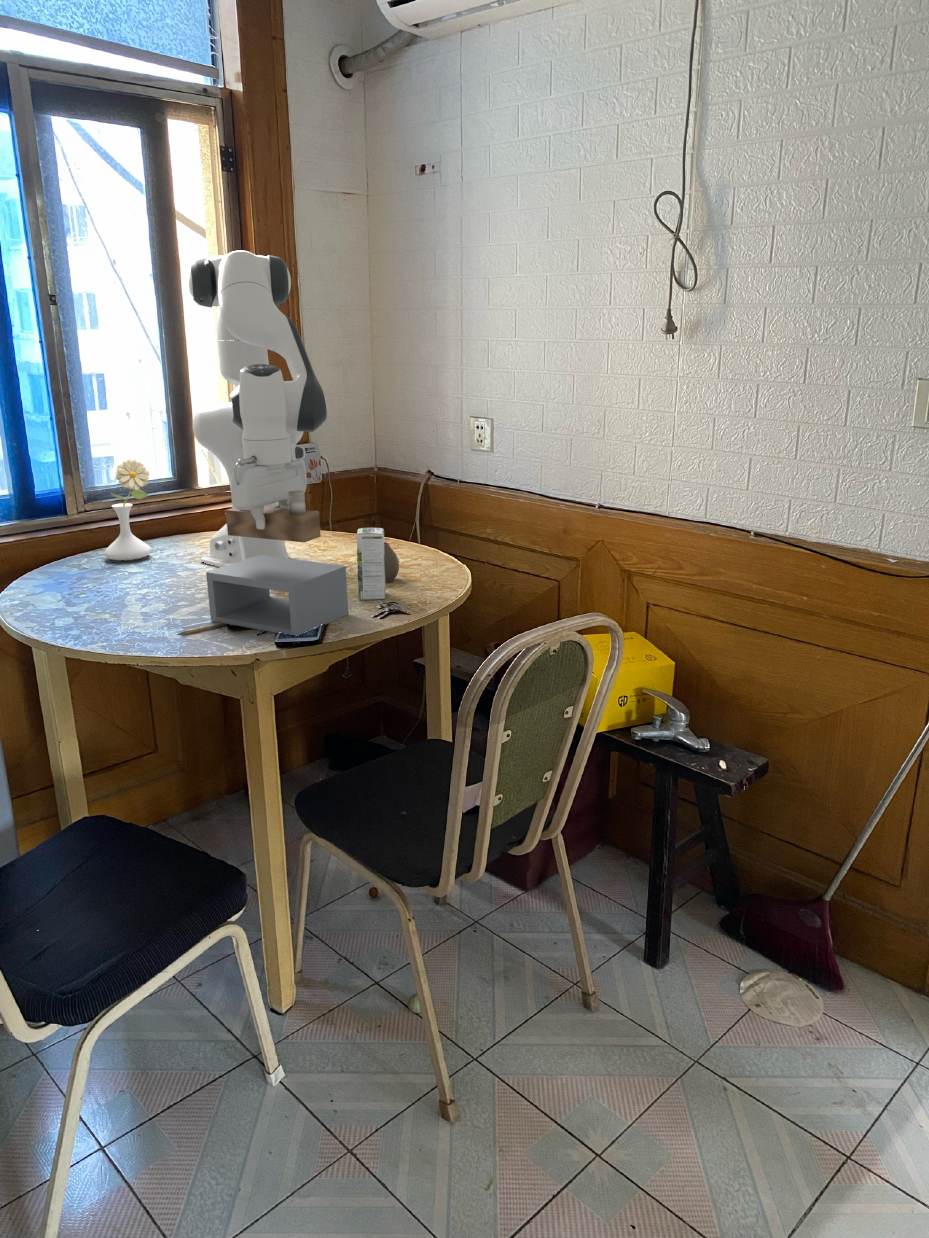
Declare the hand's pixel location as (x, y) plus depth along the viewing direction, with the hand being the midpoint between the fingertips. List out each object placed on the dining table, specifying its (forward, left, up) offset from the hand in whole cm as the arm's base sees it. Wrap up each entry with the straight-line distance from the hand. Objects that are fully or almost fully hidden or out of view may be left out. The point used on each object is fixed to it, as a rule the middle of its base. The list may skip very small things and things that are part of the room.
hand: (273, 525), depth 178 cm
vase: (+3, +33, -19) cm, 38 cm away
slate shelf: (0, 0, -19) cm, 19 cm away
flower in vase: (-67, +22, -19) cm, 73 cm away
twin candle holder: (0, 0, -2) cm, 2 cm away
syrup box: (+8, +21, -19) cm, 29 cm away
